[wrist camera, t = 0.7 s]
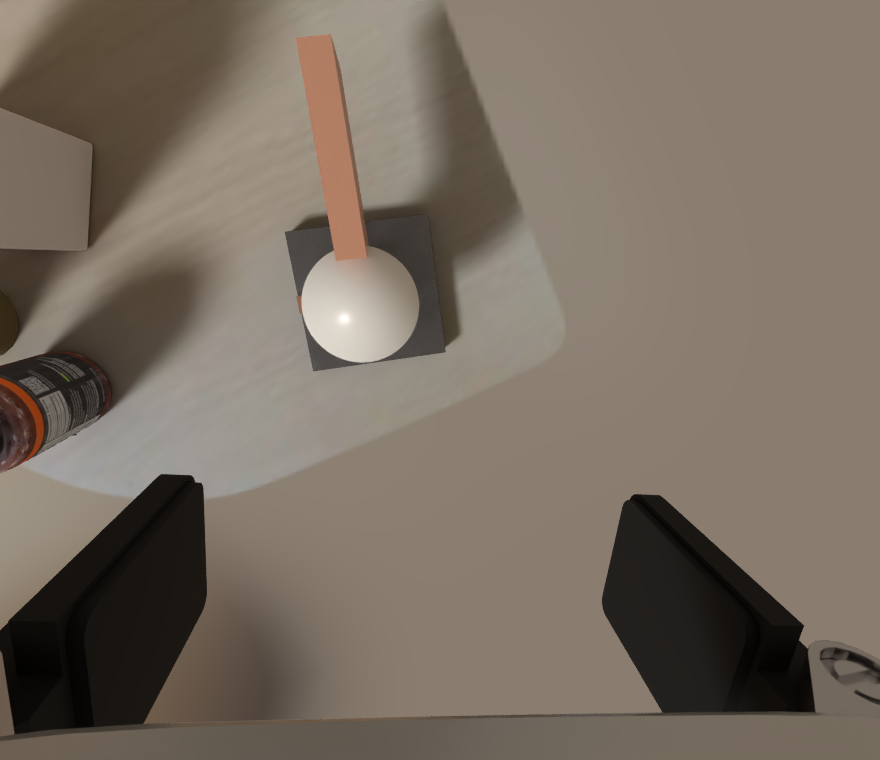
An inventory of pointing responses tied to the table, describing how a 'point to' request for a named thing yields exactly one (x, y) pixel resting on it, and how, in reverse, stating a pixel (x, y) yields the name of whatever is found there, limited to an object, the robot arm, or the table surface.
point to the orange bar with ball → (348, 235)
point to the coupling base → (410, 248)
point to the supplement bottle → (47, 403)
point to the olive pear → (7, 324)
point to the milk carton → (43, 186)
